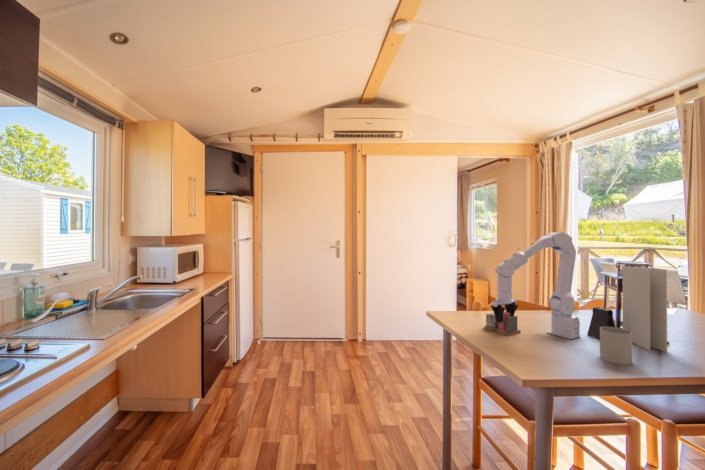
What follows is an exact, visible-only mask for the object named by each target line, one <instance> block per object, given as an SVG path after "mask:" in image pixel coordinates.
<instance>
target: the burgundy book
mask: <svg viewBox="0 0 705 470" xmlns="http://www.w3.org/2000/svg"><path fill="white" fill-rule="evenodd" d="M506 317H510V313H509V312H506V311H504V313H503V319H502V323H500V322H498V329H501V330H506Z"/></svg>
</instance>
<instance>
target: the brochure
mask: <svg viewBox="0 0 705 470" xmlns="http://www.w3.org/2000/svg"><path fill="white" fill-rule="evenodd" d="M667 273H668V271H667V269H661V268H653V267H647V266H640V265H639V266H638V265H637V266H628V265H627V266H625V265H623V266H622V329H625V330H628V331H631V332H632V344H634V345H637V346H639V347H641V348H643V349H645V350H647V351H651V348H654V349H655V350H660V351H663V352H666V353H667V352H668V294H667V293H668V287H667V286H668V283H667V282H668V280H667V279H668V277H667V276H668V274H667Z"/></svg>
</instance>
